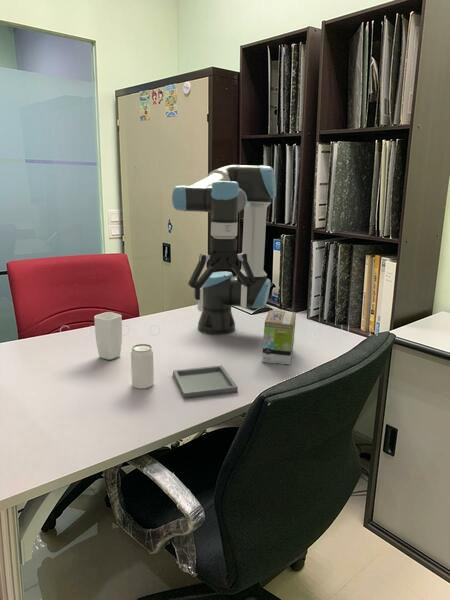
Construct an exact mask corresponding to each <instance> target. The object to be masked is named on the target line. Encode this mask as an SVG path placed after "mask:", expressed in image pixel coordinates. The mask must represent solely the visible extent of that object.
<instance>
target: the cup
mask: <svg viewBox="0 0 450 600" xmlns="http://www.w3.org/2000/svg"><path fill="white" fill-rule="evenodd" d="M93 318H94V319H93V320H94V333H95V334H94V335H95V341H96V347H97V354H98V357H99V358H101V359H104V360H108V361H111V360H114V359H116V358H119V357H120V356H121V351H122V344H123V343H122V341H123V321H122V320H123V319H122V314H119V313H116V312H112V311H106V312H102V313H99V314H96V315H94V317H93Z"/></svg>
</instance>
